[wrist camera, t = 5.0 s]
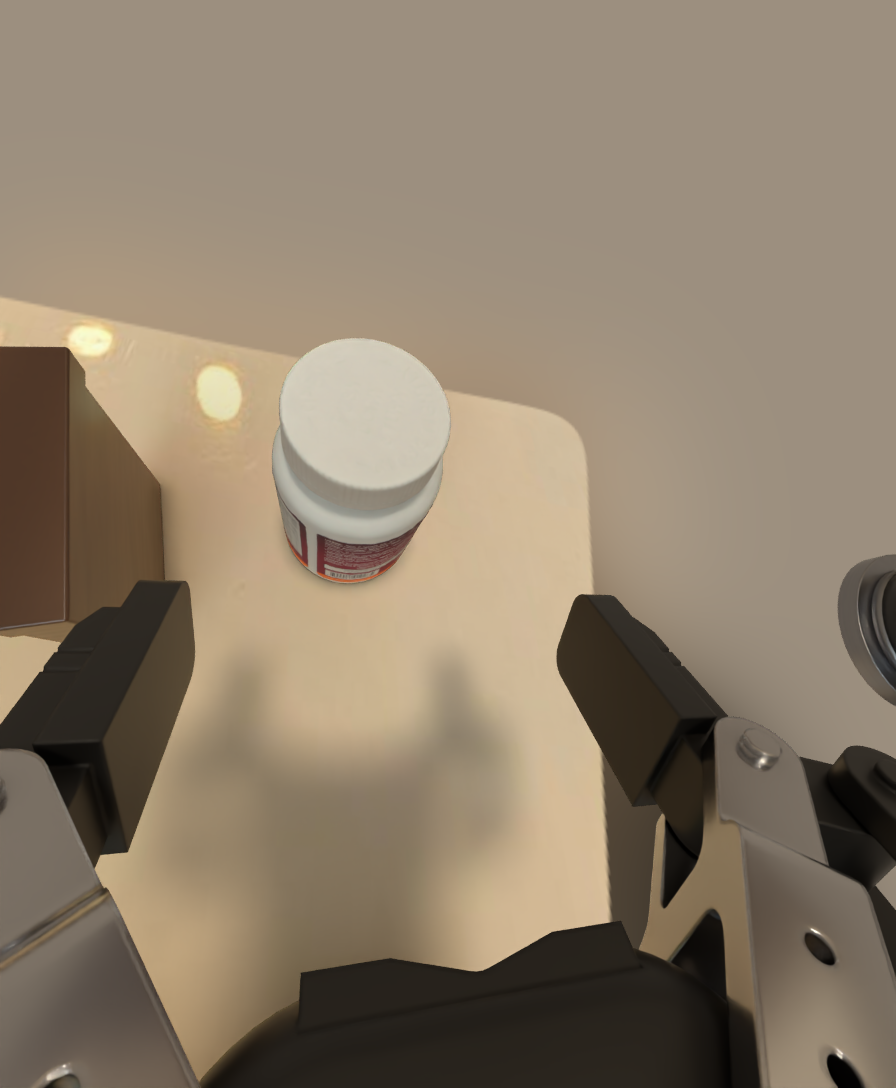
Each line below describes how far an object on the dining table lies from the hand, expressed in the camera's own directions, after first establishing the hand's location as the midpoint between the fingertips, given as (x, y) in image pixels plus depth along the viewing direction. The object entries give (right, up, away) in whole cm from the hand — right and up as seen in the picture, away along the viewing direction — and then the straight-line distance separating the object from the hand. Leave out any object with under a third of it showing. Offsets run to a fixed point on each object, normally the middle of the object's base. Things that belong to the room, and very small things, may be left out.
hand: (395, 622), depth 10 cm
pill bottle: (-4, +2, +15) cm, 16 cm away
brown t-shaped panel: (-13, +1, +12) cm, 17 cm away
